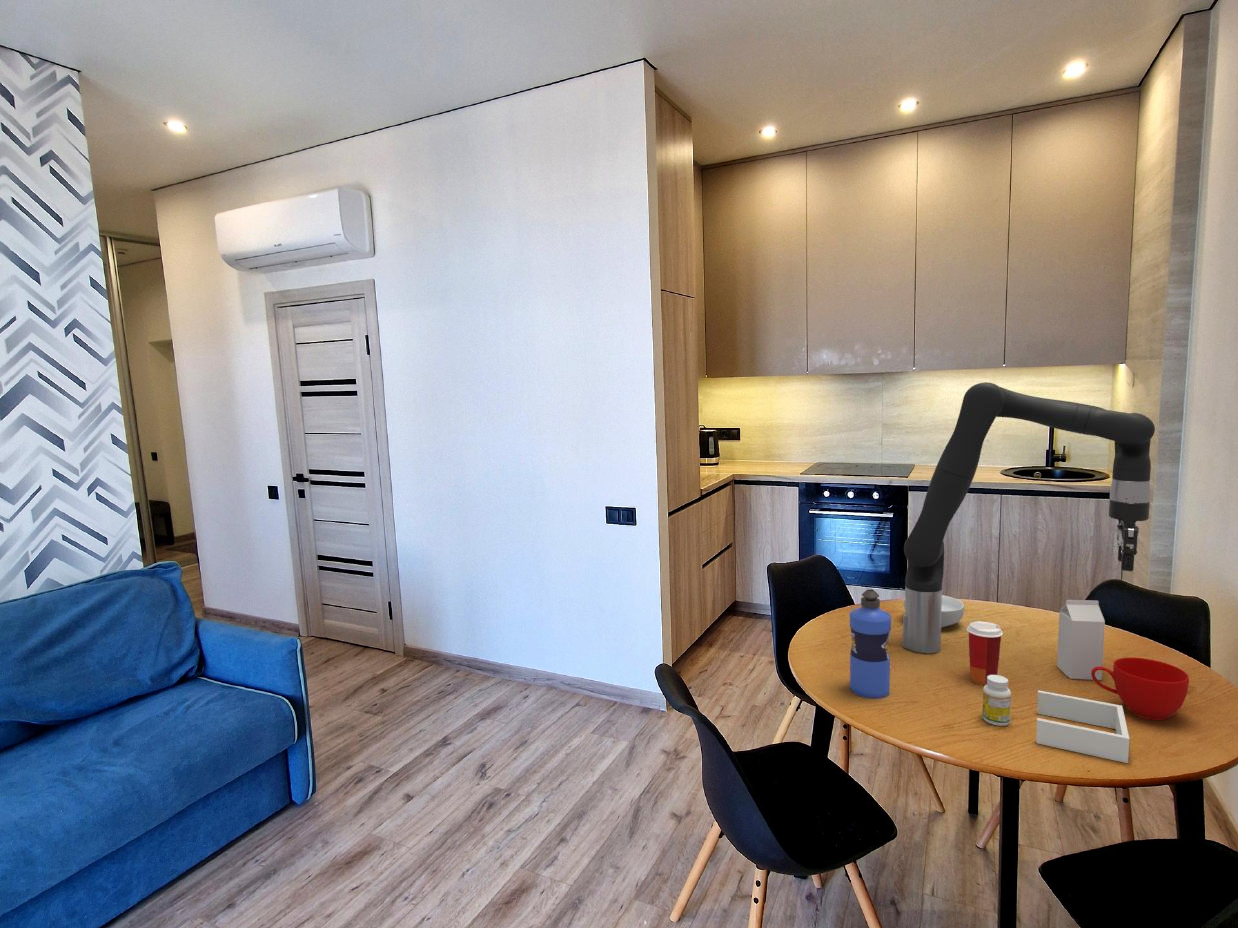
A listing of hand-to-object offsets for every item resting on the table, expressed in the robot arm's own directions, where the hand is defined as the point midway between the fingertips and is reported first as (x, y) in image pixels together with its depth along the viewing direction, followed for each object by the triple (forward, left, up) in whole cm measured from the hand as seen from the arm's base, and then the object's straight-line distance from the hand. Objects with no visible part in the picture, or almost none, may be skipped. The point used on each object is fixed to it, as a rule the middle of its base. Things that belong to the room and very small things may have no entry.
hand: (1125, 565), depth 158 cm
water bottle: (-51, -32, -29) cm, 67 cm away
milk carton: (-8, +1, -29) cm, 30 cm away
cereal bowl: (-44, +22, -29) cm, 57 cm away
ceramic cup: (+2, -15, -29) cm, 33 cm away
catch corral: (-9, -33, -29) cm, 45 cm away
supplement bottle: (-24, -34, -29) cm, 51 cm away
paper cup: (-28, -14, -29) cm, 43 cm away
